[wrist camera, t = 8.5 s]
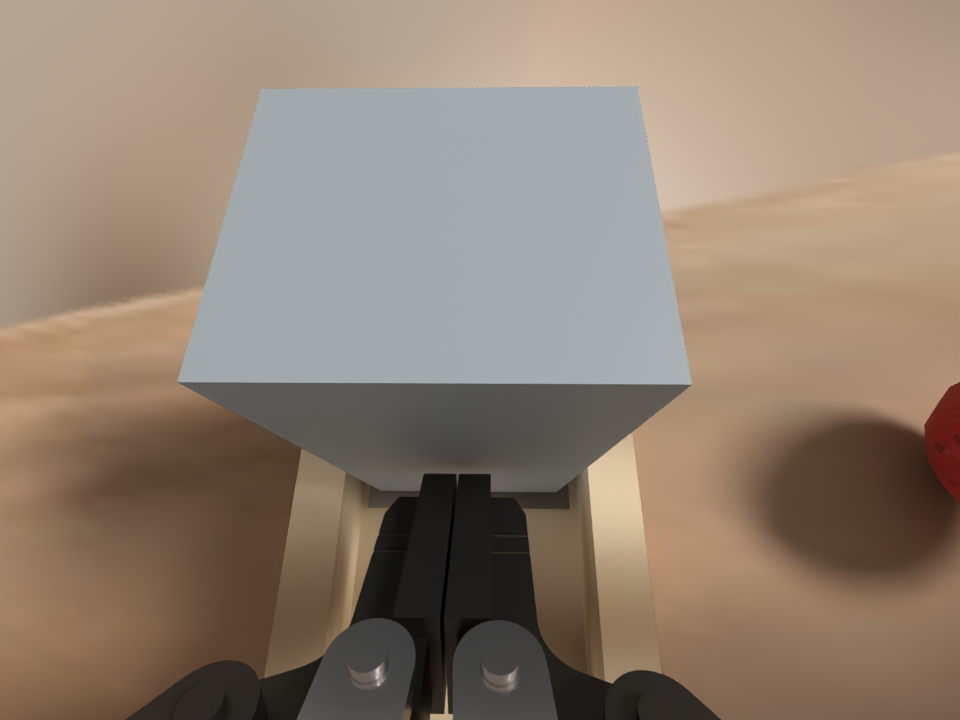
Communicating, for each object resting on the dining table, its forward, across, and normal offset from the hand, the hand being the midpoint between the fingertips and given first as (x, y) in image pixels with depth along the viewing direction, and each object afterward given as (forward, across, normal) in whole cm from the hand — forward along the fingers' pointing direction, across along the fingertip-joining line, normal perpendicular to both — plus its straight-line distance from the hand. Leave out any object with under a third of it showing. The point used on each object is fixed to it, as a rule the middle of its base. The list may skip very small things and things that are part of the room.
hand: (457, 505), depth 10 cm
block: (+6, 0, +1) cm, 6 cm away
